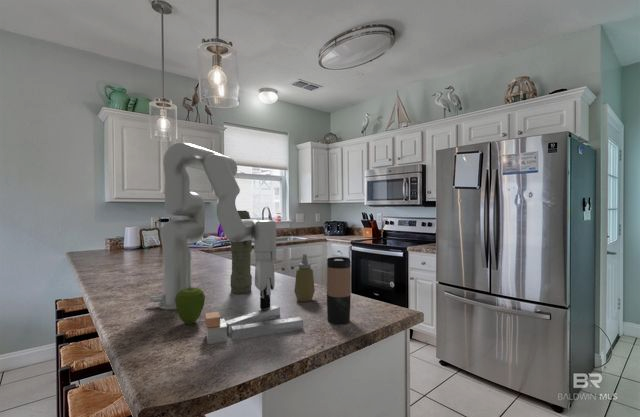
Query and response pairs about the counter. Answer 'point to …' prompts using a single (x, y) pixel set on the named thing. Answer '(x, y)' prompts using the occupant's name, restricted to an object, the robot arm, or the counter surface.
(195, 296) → the apple
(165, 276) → the robot arm
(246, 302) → the counter surface
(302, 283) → the squeeze bottle
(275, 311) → the arm
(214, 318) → the block
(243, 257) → the thermos
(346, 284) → the travel mug
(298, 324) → the base
